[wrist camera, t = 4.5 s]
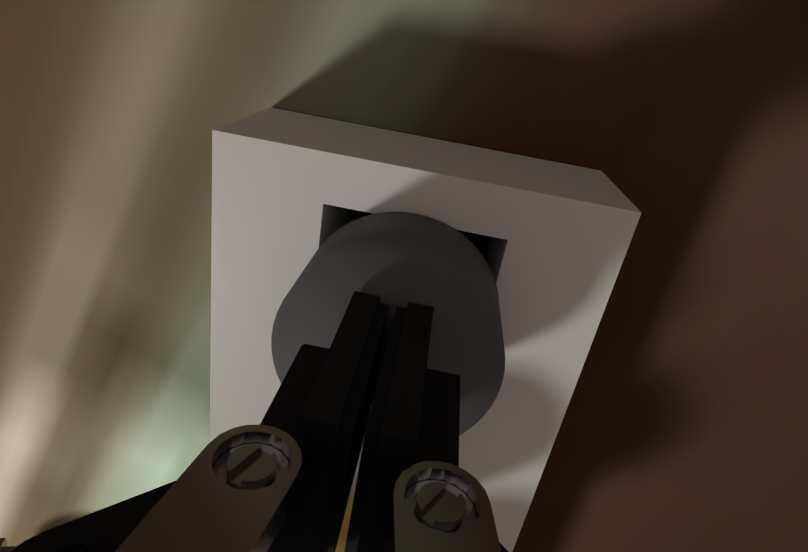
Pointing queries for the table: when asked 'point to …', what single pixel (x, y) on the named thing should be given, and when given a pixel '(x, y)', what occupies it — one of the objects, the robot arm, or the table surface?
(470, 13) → the table surface
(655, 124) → the table surface
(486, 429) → the mount
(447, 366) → the knob
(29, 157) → the table surface
